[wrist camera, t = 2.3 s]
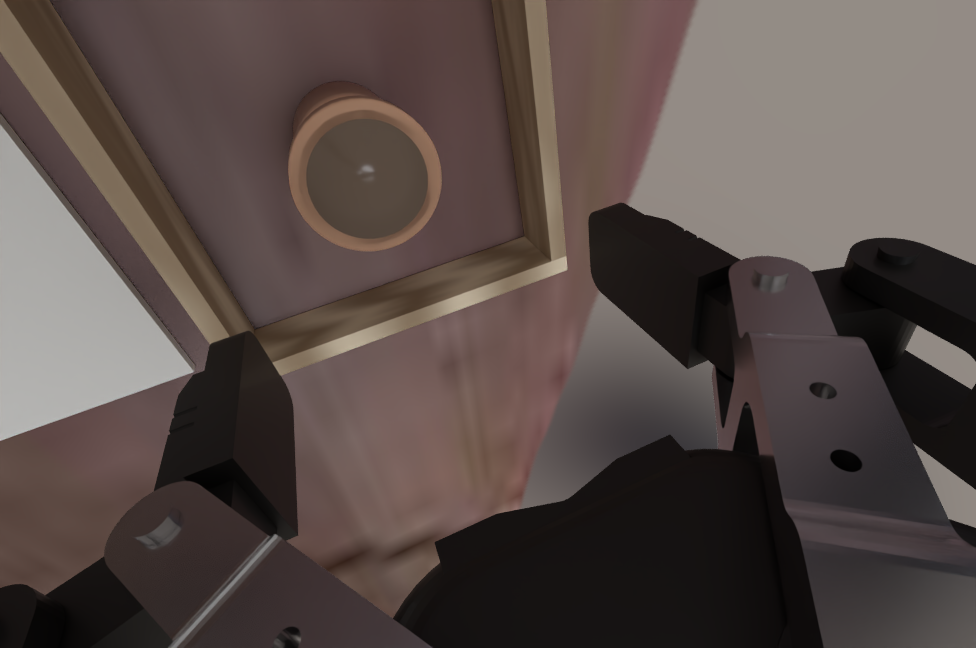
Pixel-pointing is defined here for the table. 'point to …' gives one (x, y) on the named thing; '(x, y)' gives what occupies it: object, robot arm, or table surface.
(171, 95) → the table surface
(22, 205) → the grey mat
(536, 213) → the frame
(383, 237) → the terracotta pot
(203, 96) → the table surface
